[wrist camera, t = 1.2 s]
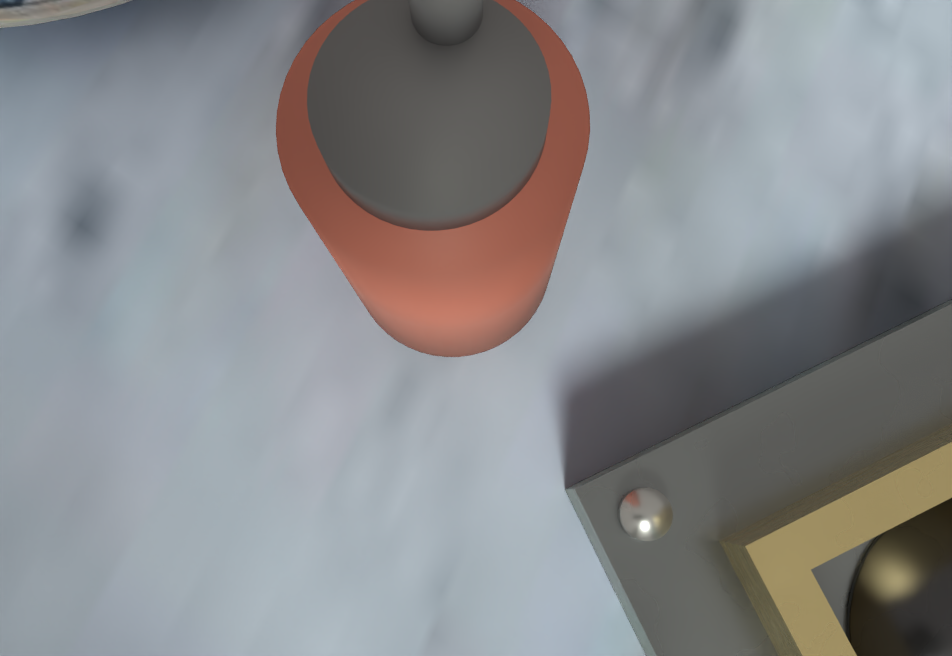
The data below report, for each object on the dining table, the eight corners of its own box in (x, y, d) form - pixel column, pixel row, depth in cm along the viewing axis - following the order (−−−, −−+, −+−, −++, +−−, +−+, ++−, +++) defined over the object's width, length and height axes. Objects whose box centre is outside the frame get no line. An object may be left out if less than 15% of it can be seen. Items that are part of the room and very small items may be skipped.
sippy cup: (531, 373, 23) (577, 257, 11) (335, 336, 23) (190, 187, 12) (566, 185, 24) (638, -92, 12) (377, 152, 24) (281, -150, 13)
